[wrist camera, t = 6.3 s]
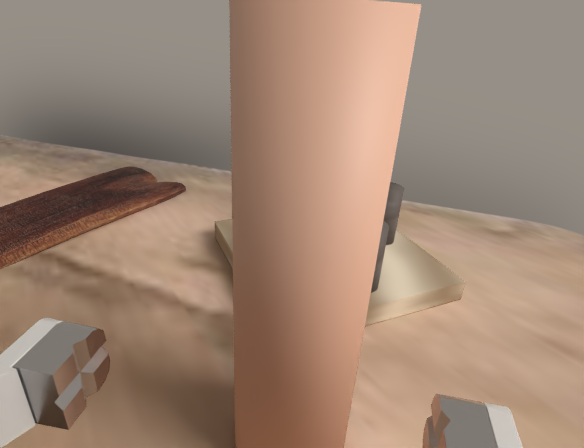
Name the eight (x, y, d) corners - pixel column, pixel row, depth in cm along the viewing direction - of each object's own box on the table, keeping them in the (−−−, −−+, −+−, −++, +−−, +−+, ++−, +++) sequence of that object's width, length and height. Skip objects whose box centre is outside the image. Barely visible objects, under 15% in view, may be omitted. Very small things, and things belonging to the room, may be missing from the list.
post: (256, 513, 17) (271, -8, 8) (222, 411, 21) (208, -8, 12) (364, 467, 18) (464, 7, 10) (313, 382, 22) (355, 2, 14)
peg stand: (277, 350, 24) (282, 263, 22) (215, 237, 35) (212, 170, 33) (460, 299, 30) (483, 224, 27) (356, 214, 41) (364, 155, 38)
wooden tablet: (-149, 316, 24) (-206, 242, 28) (-135, 343, 25) (-192, 268, 29) (194, 183, 44) (131, 152, 48) (193, 202, 45) (132, 170, 49)
